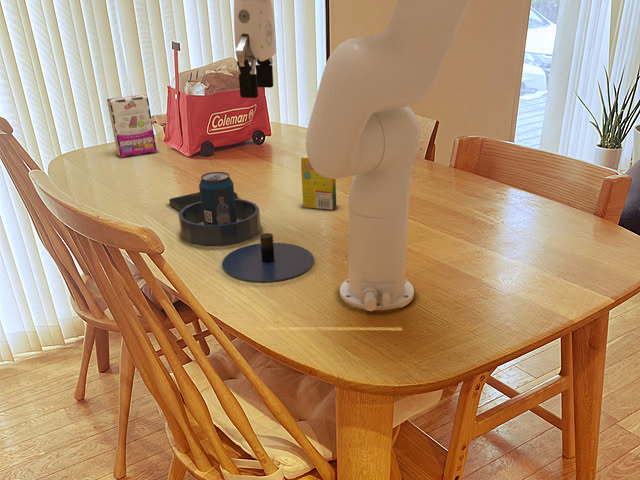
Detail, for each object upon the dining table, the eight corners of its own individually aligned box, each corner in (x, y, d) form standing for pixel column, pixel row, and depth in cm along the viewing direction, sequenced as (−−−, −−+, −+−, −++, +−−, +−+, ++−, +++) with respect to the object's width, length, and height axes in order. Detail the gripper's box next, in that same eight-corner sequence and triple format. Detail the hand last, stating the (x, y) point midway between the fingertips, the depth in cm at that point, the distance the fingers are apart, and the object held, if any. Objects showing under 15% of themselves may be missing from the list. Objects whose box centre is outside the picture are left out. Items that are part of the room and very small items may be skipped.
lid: (311, 285, 111) (310, 254, 108) (214, 285, 112) (210, 254, 109) (316, 247, 126) (315, 218, 123) (231, 247, 127) (228, 218, 124)
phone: (239, 194, 151) (181, 207, 144) (239, 199, 152) (181, 212, 144) (224, 186, 157) (167, 198, 150) (224, 190, 157) (168, 203, 150)
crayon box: (336, 206, 146) (336, 156, 140) (332, 210, 144) (331, 159, 138) (307, 203, 148) (305, 154, 142) (302, 207, 146) (300, 157, 140)
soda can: (220, 223, 137) (214, 169, 131) (244, 229, 134) (239, 173, 128) (197, 233, 132) (190, 177, 126) (222, 240, 129) (216, 183, 123)
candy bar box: (152, 149, 195) (144, 93, 187) (157, 152, 191) (148, 96, 183) (116, 154, 190) (106, 98, 182) (120, 158, 186) (109, 100, 178)
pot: (254, 248, 126) (252, 225, 123) (173, 248, 127) (170, 225, 124) (264, 219, 140) (263, 198, 137) (192, 219, 141) (189, 198, 138)
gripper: (256, -8, 101) (262, 102, 110) (285, -14, 115) (289, 84, 124) (212, -8, 102) (222, 101, 111) (246, -14, 117) (252, 83, 125)
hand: (257, 92), depth 118 cm, fingers open, 9 cm apart
